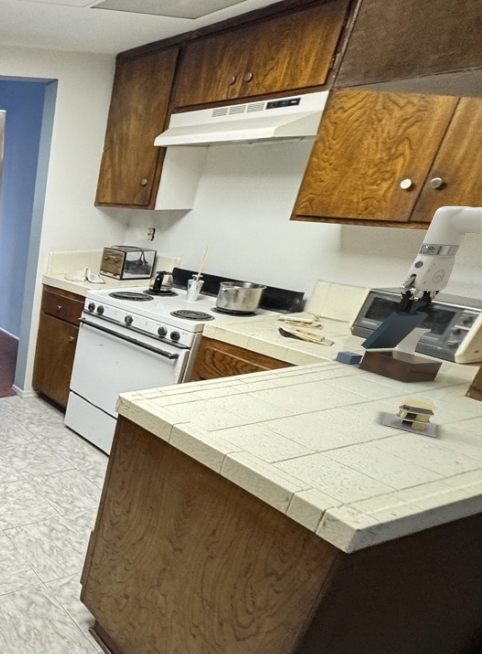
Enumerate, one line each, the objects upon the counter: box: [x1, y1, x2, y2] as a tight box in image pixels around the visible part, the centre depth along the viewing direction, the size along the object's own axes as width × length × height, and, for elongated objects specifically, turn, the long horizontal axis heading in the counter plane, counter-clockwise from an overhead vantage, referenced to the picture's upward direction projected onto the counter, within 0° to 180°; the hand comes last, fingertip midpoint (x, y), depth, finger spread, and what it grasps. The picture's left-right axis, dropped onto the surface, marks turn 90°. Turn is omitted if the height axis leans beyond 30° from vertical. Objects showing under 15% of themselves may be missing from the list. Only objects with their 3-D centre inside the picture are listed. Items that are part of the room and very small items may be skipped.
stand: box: [358, 349, 443, 383], centre depth 148 cm, size 13×11×6 cm
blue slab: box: [360, 300, 429, 350], centre depth 148 cm, size 17×11×3 cm
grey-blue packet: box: [335, 351, 364, 365], centre depth 160 cm, size 3×4×4 cm
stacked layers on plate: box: [381, 398, 437, 438], centre depth 113 cm, size 10×9×6 cm
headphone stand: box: [395, 327, 432, 355], centre depth 161 cm, size 5×6×12 cm
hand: (411, 311), depth 144 cm, fingers closed on blue slab, 5 cm apart
